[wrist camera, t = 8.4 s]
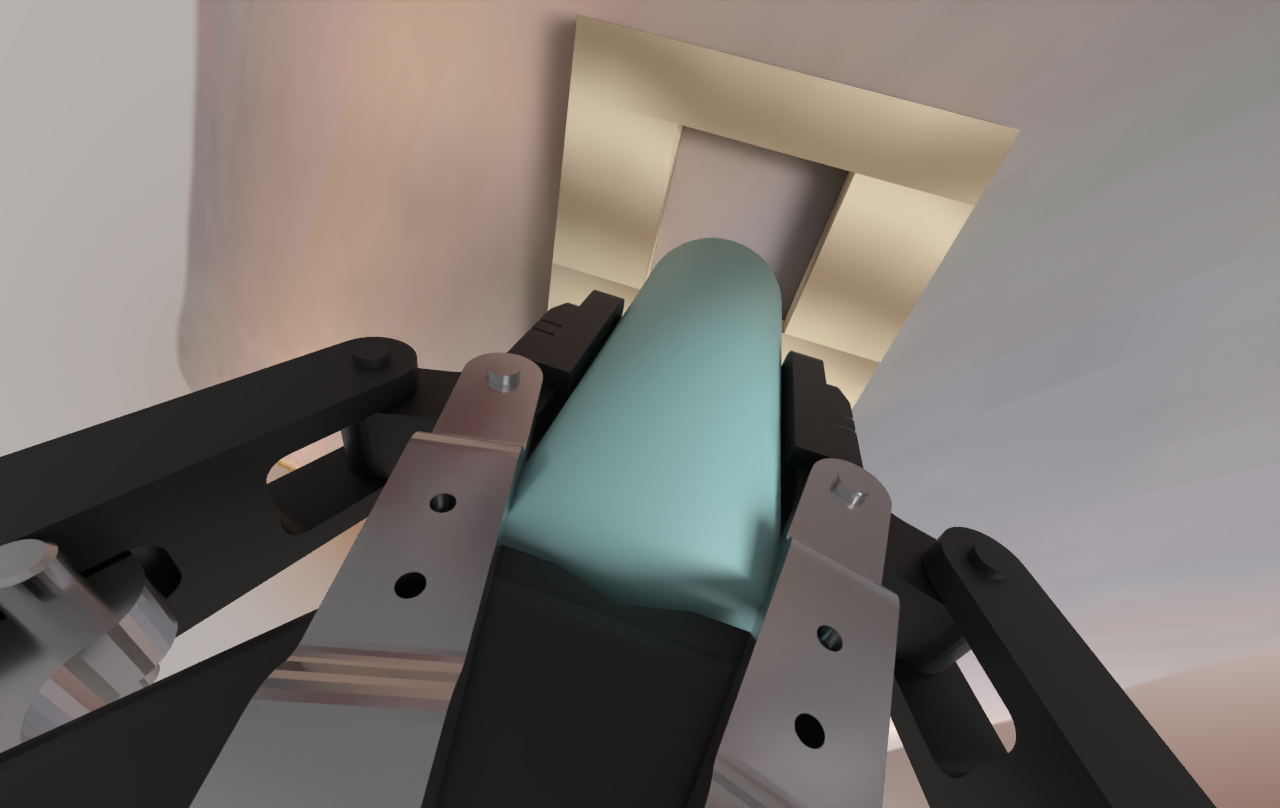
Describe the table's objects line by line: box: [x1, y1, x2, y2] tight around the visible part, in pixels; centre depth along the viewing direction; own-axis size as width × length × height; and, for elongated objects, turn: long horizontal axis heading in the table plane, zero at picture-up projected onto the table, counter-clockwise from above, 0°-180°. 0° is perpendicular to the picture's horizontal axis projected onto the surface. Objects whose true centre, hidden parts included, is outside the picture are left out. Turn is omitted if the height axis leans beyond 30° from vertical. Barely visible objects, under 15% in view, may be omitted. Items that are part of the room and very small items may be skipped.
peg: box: [502, 238, 782, 632], centre depth 10 cm, size 4×4×10 cm
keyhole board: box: [547, 14, 1021, 410], centre depth 24 cm, size 22×16×2 cm
